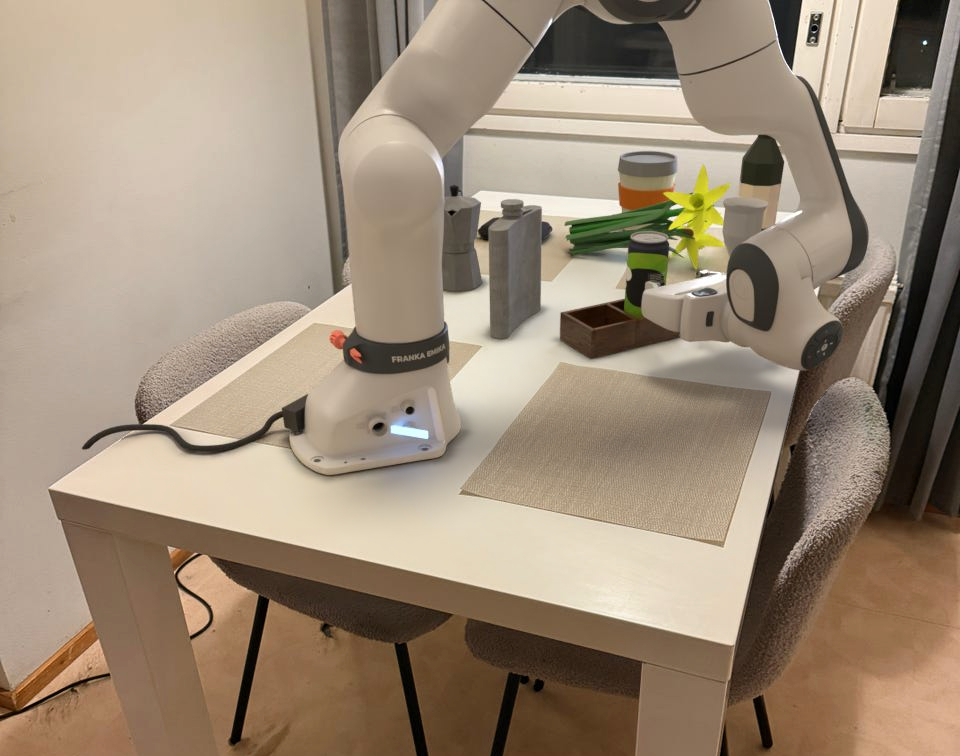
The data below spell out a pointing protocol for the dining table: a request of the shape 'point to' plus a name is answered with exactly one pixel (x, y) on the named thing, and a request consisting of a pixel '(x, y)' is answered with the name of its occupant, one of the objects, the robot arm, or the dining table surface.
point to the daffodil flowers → (656, 223)
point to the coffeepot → (460, 242)
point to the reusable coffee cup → (645, 179)
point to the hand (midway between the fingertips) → (674, 280)
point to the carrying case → (484, 228)
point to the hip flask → (514, 266)
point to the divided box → (608, 329)
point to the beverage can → (644, 267)
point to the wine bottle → (763, 176)
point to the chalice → (742, 220)
